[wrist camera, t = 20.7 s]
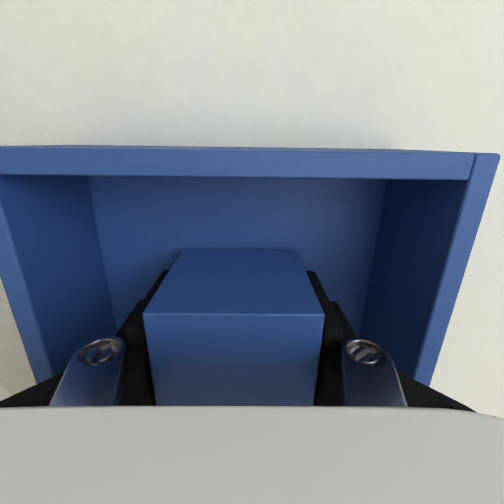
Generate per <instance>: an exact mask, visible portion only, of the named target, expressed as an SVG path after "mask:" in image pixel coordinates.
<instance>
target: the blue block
mask: <svg viewBox="0 0 504 504" xmlns="http://www.w3.org/2000/svg"><path fill="white" fill-rule="evenodd" d="M324 316H325V315H324V312H323V310H322V308H321V305H320V303H319V301H318V299H317V296H316V294H315V292H314V289H313V287H312V285H311V283H310V280H309V278H308V276H307V273H306V271H305V269H304V267H303V264H302V262H301V260H300V257H299V255H298V253H297V251H296V250H209V249H183V250H182V251H181V253H180V254H179V256H178V257H177V259H176V261H175V262H174V264H173V265H172V267H171V269H170V270H169V272H168V273H167V275H166V277H165V278H164V280H163V282H162V283H161V285H160V286H159V288H158V290H157V291H156V293H155V294H154V296H153V298H152V299H151V301H150V302H149V304H148V306H147V307H146V309H145V311H144V312H143V321H144V327H145V334H146V341H147V347H148V354H149V361H150V368H151V374H152V381H153V388H154V395H155V401H156V406H313V405H314V397H315V389H316V381H317V373H318V365H319V357H320V349H321V341H322V333H323V324H324Z"/></svg>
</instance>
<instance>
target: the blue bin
mask: <svg viewBox="0 0 504 504" xmlns="http://www.w3.org/2000/svg"><path fill="white" fill-rule="evenodd" d="M499 160H500V155H499V154H495V153H471V152H447V151H424V150H400V149H326V148H252V147H178V146H104V145H42V146H0V277H1V280H2V283H3V286H4V289H5V292H6V295H7V298H8V301H9V304H10V307H11V310H12V313H13V316H14V318H15V321H16V324H17V327H18V330H19V333H20V336H21V339H22V342H23V345H24V348H25V351H26V354H27V357H28V360H29V363H30V366H31V369H32V372H33V375H34V378H35V381H36V383H37V384H39V383H41V382H43V381H45V380H47V379H49V378H52V377H54V376H56V375H58V374H60V373H62V372H65V370H66V368H67V366H68V364H69V362H70V359H71V357H72V355H73V354H74V353H75V351H76V350H77V349H78V348H79V347H81V346H82V345H84V344H85V343H87V342H89V341H91V340H94V339H97V338H101V337H108V336H113V337H114V336H115V335H116V333H117V332H118V330H119V329H120V327H121V326H122V324H123V323H124V322H125V320H126V319H127V317H128V316H129V314H130V313H131V311H132V310H133V309H134V307H135V306H136V304H137V303H138V302H139V301H140V300H144V298H145V297H146V295H147V294H148V292H149V291H150V289H151V288H152V286H153V285H154V283H155V282H156V280H157V279H158V277H159V276H160V274H161V273H162V271H163V270H170V269H171V267H172V265H173V264H174V262H175V261H176V259H177V257H178V256H179V254H180V253H181V251H182V250H183V249H209V250H296V251H297V253H298V255H299V257H300V260H301V262H302V264H303V267H304V269H305V271H315V273H316V275H317V277H318V279H319V281H320V283H321V285H322V287H323V289H324V291H325V293H326V295H327V297H328V298H329V300H330V301H335V302H337V303H338V304H339V306H340V308H341V310H342V312H343V313H344V315H345V317H346V319H347V321H348V323H349V324H350V326H351V328H352V330H353V332H354V334H355V335H356V337H358V338H366V339H370V340H373V341H375V342H377V343H379V344H381V345H382V346H384V347H385V348H386V349H387V350H388V351H389V352H390V354H391V356H392V358H393V362H394V365H395V368H396V371H398V372H400V373H402V374H404V375H406V376H408V377H410V378H412V379H414V380H416V381H418V382H420V383H422V384H424V385H426V386H428V387H429V385H430V382H431V379H432V376H433V372H434V369H435V366H436V363H437V359H438V356H439V353H440V350H441V347H442V343H443V340H444V337H445V334H446V330H447V327H448V324H449V321H450V318H451V314H452V311H453V308H454V305H455V301H456V298H457V295H458V292H459V289H460V285H461V282H462V279H463V276H464V272H465V269H466V266H467V263H468V260H469V256H470V253H471V250H472V247H473V243H474V240H475V237H476V234H477V231H478V227H479V224H480V221H481V218H482V214H483V211H484V208H485V205H486V202H487V198H488V195H489V192H490V189H491V185H492V182H493V179H494V176H495V173H496V169H497V166H498V163H499Z"/></svg>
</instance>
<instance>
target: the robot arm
mask: <svg viewBox="0 0 504 504" xmlns="http://www.w3.org/2000/svg"><path fill="white" fill-rule="evenodd" d="M168 272H169V270H163V271H162V273H161V274H160V276H159V277H158V279H157V280H156V282H155V283H154V285H153V286H152V288H151V289H150V291H149V292H148V294H147V295H146V297H145V298H144V300H140V301H139V302H138V303H137V304H136V306H135V307H134V309H133V310H132V311H131V313H130V314H129V316H128V317H127V319H126V320H125V322H124V323H123V324H122V326H121V327H120V329H119V330H118V332H117V333H116V335H115V336H114V337H113V336H108V337H101V338H97V339H94V340H91V341H89V342H87V343H85V344H84V345H82V346H81V347H79V348H78V349H77V350H76V351H75V353H74V354H73V355H72V357H71V359H70V362H69V364H68V366H67V368H66V370H65V372H62V373H60V374H58V375H56V376H54V377H52V378H49V379H47V380H45V381H43V382H41V383H39V384H37V385H34V386H32V387H30V388H28V389H26V390H24V391H22V392H19V393H17V394H15V395H13V396H11V397H9V398H7V399H5V400H2V401H0V504H504V419H502V418H499V417H495V416H490V415H485V414H480V413H477V412H475V411H474V410H472V409H470V408H469V407H467V406H465V405H463V404H461V403H459V402H457V401H455V400H453V399H451V398H449V397H447V396H445V395H443V394H441V393H440V392H438V391H436V390H434V389H432V388H430V387H428V386H426V385H424V384H422V383H420V382H418V381H416V380H414V379H412V378H410V377H408V376H406V375H404V374H402V373H400V372H398V371H396V368H395V365H394V362H393V358H392V356H391V354H390V352H389V351H388V350H387V349H386V348H385V347H384V346H382V345H381V344H379V343H377V342H375V341H373V340H370V339H366V338H358V337H356V335H355V334H354V332H353V330H352V328H351V326H350V324H349V323H348V321H347V319H346V317H345V315H344V313H343V312H342V310H341V308H340V306H339V304H338V303H337V302H335V301H330V300H329V298H328V297H327V295H326V293H325V291H324V289H323V287H322V285H321V283H320V281H319V279H318V277H317V275H316V273H315V271H306V273H307V276H308V278H309V280H310V283H311V285H312V287H313V289H314V292H315V294H316V296H317V299H318V301H319V303H320V305H321V308H322V310H323V312H324V315H325V316H324V324H323V333H322V341H321V349H320V357H319V365H318V373H317V381H316V389H315V397H314V405H313V406H156V401H155V395H154V388H153V381H152V374H151V368H150V361H149V354H148V347H147V341H146V334H145V327H144V321H143V312H144V311H145V309H146V307H147V306H148V304H149V302H150V301H151V299H152V298H153V296H154V294H155V293H156V291H157V290H158V288H159V286H160V285H161V283H162V282H163V280H164V278H165V277H166V275H167V273H168Z"/></svg>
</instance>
